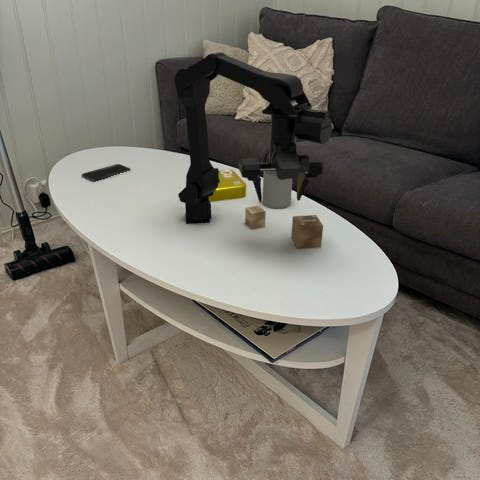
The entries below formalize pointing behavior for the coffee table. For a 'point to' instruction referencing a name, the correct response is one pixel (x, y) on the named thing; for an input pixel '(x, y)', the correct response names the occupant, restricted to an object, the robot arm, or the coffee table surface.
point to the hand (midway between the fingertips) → (279, 201)
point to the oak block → (255, 217)
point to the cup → (276, 191)
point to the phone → (105, 172)
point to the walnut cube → (307, 231)
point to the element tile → (229, 187)
